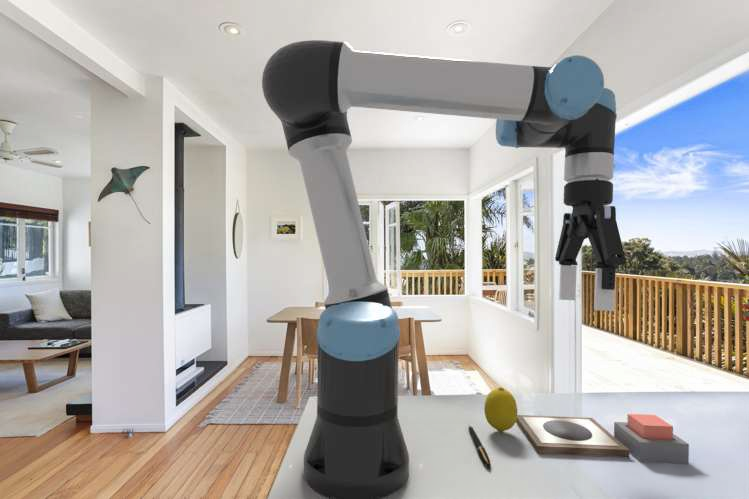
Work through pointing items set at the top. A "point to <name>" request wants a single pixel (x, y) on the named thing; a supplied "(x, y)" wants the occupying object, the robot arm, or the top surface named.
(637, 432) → the button
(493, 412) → the lemon
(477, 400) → the top surface
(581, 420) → the board
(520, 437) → the top surface
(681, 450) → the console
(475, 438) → the fountain pen
